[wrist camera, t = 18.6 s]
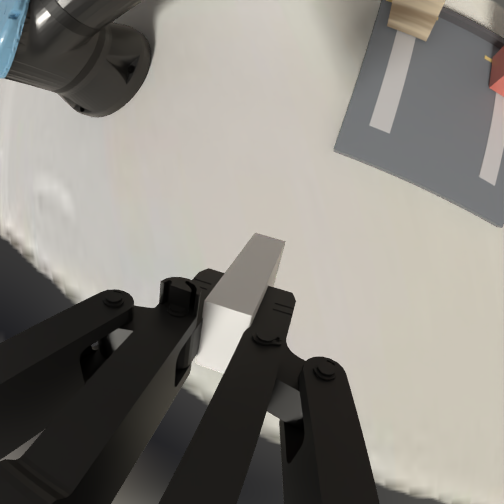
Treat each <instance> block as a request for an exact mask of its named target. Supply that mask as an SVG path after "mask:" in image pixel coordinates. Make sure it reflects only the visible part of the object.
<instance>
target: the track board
mask: <svg viewBox="0 0 504 504" xmlns="http://www.w3.org/2000/svg"><path fill="white" fill-rule="evenodd" d="M392 1H393V0H382V1H381V4H380V8H379V11H378V15H377V18H376V21H375V25H374V28H373V31H372V35H371V38H370V41H369V44H368V47H367V51H366V54H365V57H364V60H363V63H362V66H361V70H360V73H359V76H358V79H357V82H356V85H355V88H354V91H353V94H352V97H351V100H350V103H349V106H348V109H347V112H346V115H345V118H344V121H343V124H342V127H341V130H340V132H339V135H338V138H337V141H336V144H335V147H334V152H336V153H339V154H342V155H344V156H347V157H350V158H352V159H355V160H357V161H360V162H362V163H365V164H367V165H370V166H372V167H375V168H377V169H379V170H382V171H384V172H387V173H389V174H391V175H394V176H396V177H398V178H400V179H403V180H405V181H407V182H409V183H412V184H414V185H416V186H418V187H420V188H422V189H425V190H427V191H429V192H431V193H433V194H435V195H437V196H439V197H441V198H443V199H445V200H447V201H449V202H451V203H453V204H455V205H457V206H459V207H461V208H463V209H465V210H467V211H469V212H471V213H472V214H474V215H476V216H478V217H480V218H482V219H484V220H485V221H487V222H489V223H491V224H493V225H494V226H496V227H501V228H502V227H503V224H504V97H503V96H502V95H500V94H498V93H497V92H495V91H493V90H492V89H490V88H489V84H490V76H491V68H492V58H493V56H494V55H495V54H496V53H497V52H498V51H499V50H500V49H501V48H502V47H503V46H504V38H502V37H501V36H499V35H497V34H495V33H494V32H492V31H490V30H489V29H487V28H485V27H483V26H481V25H479V24H478V23H476V22H474V21H472V20H470V19H468V18H466V17H464V16H462V15H460V14H458V13H456V12H454V11H452V10H449V9H447V8H445V7H442V9H441V11H440V14H439V16H438V18H437V20H436V22H435V24H434V26H433V28H432V30H431V33H430V35H429V37H428V39H427V41H424V40H421V39H419V38H416V37H414V36H412V35H409V34H406V33H404V32H401V31H399V30H396V29H393V28H390V27H388V26H387V24H388V19H389V15H390V10H391V6H392Z"/></svg>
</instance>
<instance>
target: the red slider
mask: <svg viewBox="0 0 504 504" xmlns="http://www.w3.org/2000/svg"><path fill="white" fill-rule="evenodd" d="M489 88H490V89H492V90H493V91H495V92H497V93H498V94H500V95H502V96H503V97H504V46H503V47H502V48H501V49H500V50H499V51H498V52H497V53H496V54H495V55H494V56H493V58H492V68H491V76H490V84H489Z"/></svg>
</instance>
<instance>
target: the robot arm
mask: <svg viewBox="0 0 504 504" xmlns="http://www.w3.org/2000/svg"><path fill="white" fill-rule="evenodd" d="M141 1H143V0H0V78H5V79H9V80H13V81H16V82H20V83H24V84H28V85H31V86H35V87H38V88H42V89H45V90H49V91H52V92H55V93H57V94H58V95H60V96H61V97H62V98H63V99H64V100H65V101H66V102H67V103H68V104H69V105H70V106H71V107H72V108H73V109H74V110H76V111H77V112H79V113H81V114H84V115H87V116H91V117H103V116H107V115H110V114H112V113H114V112H116V111H117V110H119V109H120V108H121V107H123V106H124V105H125V104H126V103H127V102H128V101H129V100H130V99H131V98H132V97H133V96H134V95H135V93H136V92H137V91H138V89H139V88H140V86H141V85H142V83H143V81H144V79H145V77H146V74H147V72H148V68H149V64H150V58H151V51H150V46H149V43H148V41H147V39H146V38H145V36H143V35H142V34H141V33H140V32H138V31H137V30H136V29H134V28H132V27H130V26H127V25H122V24H117V23H112V22H113V21H114V20H115V19H117V18H118V17H119V16H121V15H122V14H124V13H125V12H127V11H128V10H129V9H131V8H132V7H134V6H135V5H137V4H138V3H140V2H141ZM284 245H285V241H282V240H279V239H275V238H272V237H268V236H265V235H261V234H257V233H255V234H254V235H253V236H252V238H251V239H250V240H249V242H248V243H247V244H246V246H245V247H244V248H243V250H242V251H241V252H240V254H239V255H238V256H237V258H236V259H235V260H234V262H233V263H232V264H231V266H230V267H229V268H228V270H227V271H226V272H225V273H222V272H219V271H215V270H212V269H209V268H208V269H206V270H203V271H201V272H199V273H198V274H197V275H196V276H195V277H194V279H192V280H190V279H187V278H182V277H171V278H166V279H164V280H163V281H161V284H160V299H159V304H158V305H157V306H156V307H155V308H146V307H140V306H134V300H133V297H132V296H131V295H130V294H129V293H126V292H124V291H121V290H106V291H103V292H100V293H98V294H96V295H94V296H92V297H90V298H88V299H86V300H84V301H82V302H80V303H78V304H76V305H74V306H72V307H71V308H68V309H66V310H64V311H62V312H60V313H58V314H56V315H54V316H52V317H50V318H48V319H46V320H44V321H43V322H40V323H39V324H36V325H34V326H33V327H31V328H29V329H27V330H25V331H23V332H21V333H19V334H17V335H15V336H13V337H11V338H10V339H7V340H5V341H4V342H2V343H0V459H2V458H3V457H5V456H6V455H8V454H9V453H11V452H12V451H14V450H15V449H17V448H18V447H19V446H21V445H22V444H24V443H25V442H27V441H28V440H30V439H31V438H33V437H34V436H36V435H37V434H38V433H40V432H41V431H43V430H44V429H45V430H44V431H43V432H42V433H41V435H40V436H39V437H38V438H37V439H36V440H35V442H34V443H33V444H32V445H31V446H30V447H29V449H28V450H27V451H26V452H25V453H24V455H23V456H21V457H20V458H19V459H17V460H6V459H5V460H3V461H0V504H111V503H112V501H113V500H114V498H115V496H116V495H117V493H118V491H119V490H120V488H121V486H122V485H123V483H124V482H125V480H126V478H127V477H128V475H129V473H130V472H131V470H132V468H133V467H134V465H135V463H136V462H137V460H138V458H139V457H140V455H141V453H142V452H143V450H144V449H145V447H146V445H147V443H148V442H149V440H150V438H151V437H152V435H153V434H154V432H155V430H156V429H157V427H158V425H159V424H160V422H161V420H162V419H163V417H164V415H165V414H166V412H167V410H168V409H169V407H170V405H171V404H172V402H173V400H174V399H175V397H176V395H177V394H178V392H179V390H180V389H181V387H182V385H183V384H184V382H185V380H186V379H187V377H188V375H189V374H190V370H191V363H192V361H193V359H194V357H195V356H196V363H195V364H198V365H200V366H203V367H206V368H209V369H211V370H214V371H217V372H220V373H223V377H222V379H221V381H220V383H219V385H218V387H217V389H216V391H215V393H214V395H213V397H212V399H211V401H210V403H209V405H208V407H207V409H206V411H205V414H204V416H203V417H202V420H201V422H200V424H199V426H198V428H197V430H196V432H195V434H194V436H193V438H192V440H191V442H190V444H189V446H188V448H187V450H186V451H185V453H184V456H183V457H182V460H181V461H180V463H179V465H178V467H177V469H176V471H175V473H174V475H173V477H172V479H171V481H170V483H169V485H168V487H167V489H166V491H165V492H164V494H163V496H162V498H161V500H160V502H159V504H236V503H237V501H238V498H239V495H240V492H241V489H242V486H243V483H244V480H245V477H246V474H247V471H248V468H249V465H250V462H251V459H252V456H253V453H254V450H255V447H256V444H257V440H258V437H259V434H260V431H261V428H262V425H263V421H264V418H265V415H266V411H268V412H269V413H271V414H273V415H274V416H276V417H278V418H279V419H280V421H279V426H280V443H281V460H282V477H283V496H284V497H283V499H284V504H379V499H378V495H377V490H376V486H375V482H374V478H373V473H372V469H371V465H370V461H369V457H368V453H367V449H366V445H365V441H364V437H363V433H362V430H361V426H360V422H359V418H358V415H357V411H356V407H355V404H354V400H353V397H352V393H351V389H350V386H349V382H348V379H347V375H346V373H345V371H344V369H343V367H342V366H340V365H339V364H338V363H337V362H335V361H333V360H332V359H329V358H325V357H312V358H310V359H308V360H307V361H305V360H303V359H301V358H299V357H298V356H296V355H295V354H293V353H292V352H291V351H290V349H289V348H288V346H287V343H286V337H287V333H288V330H289V326H290V322H291V318H292V314H293V310H294V306H295V302H296V300H295V298H294V295H293V293H291V292H288V291H284V290H281V289H278V288H274V287H273V286H274V282H275V279H276V275H277V271H278V268H279V264H280V260H281V256H282V253H283V249H284ZM97 341H98V345H97V346H94V347H91V345H92V344H93V343H95V342H97ZM196 354H197V355H196Z"/></svg>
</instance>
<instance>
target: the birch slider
mask: <svg viewBox="0 0 504 504" xmlns="http://www.w3.org/2000/svg"><path fill="white" fill-rule="evenodd" d="M445 1H446V0H393V1H392V6H391V10H390V15H389V19H388V24H387V26H388V27H390V28H393V29H396V30H399V31H401V32H404V33H406V34H409V35H412V36H414V37H416V38H419V39H421V40H424V41H427V39H428V37H429V35H430V33H431V30H432V28H433V26H434V24H435V22H436V20H437V18H438V16H439V14H440V11H441V9H442V7H443V5H444V3H445Z"/></svg>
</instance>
